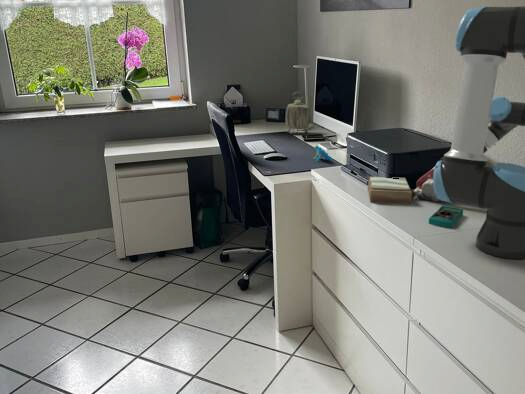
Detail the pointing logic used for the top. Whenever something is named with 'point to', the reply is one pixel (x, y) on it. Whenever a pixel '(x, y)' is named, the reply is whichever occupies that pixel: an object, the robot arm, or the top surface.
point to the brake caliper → (426, 187)
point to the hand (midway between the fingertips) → (433, 182)
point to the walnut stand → (389, 190)
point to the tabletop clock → (297, 115)
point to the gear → (321, 154)
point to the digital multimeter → (446, 216)
